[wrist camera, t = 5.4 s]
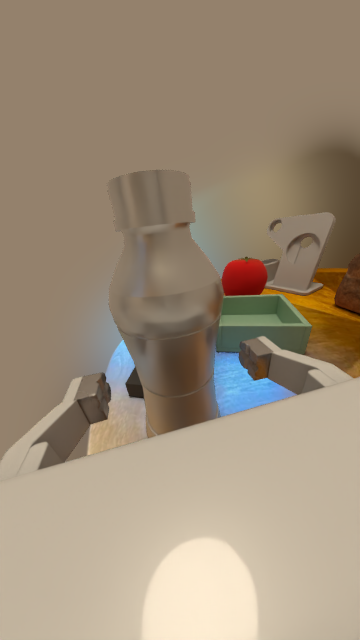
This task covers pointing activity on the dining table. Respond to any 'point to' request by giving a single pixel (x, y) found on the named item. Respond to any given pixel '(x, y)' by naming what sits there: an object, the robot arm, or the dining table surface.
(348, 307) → the bread
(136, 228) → the metal bottle
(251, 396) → the dining table surface
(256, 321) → the tray
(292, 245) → the phone holder
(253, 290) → the tomato
